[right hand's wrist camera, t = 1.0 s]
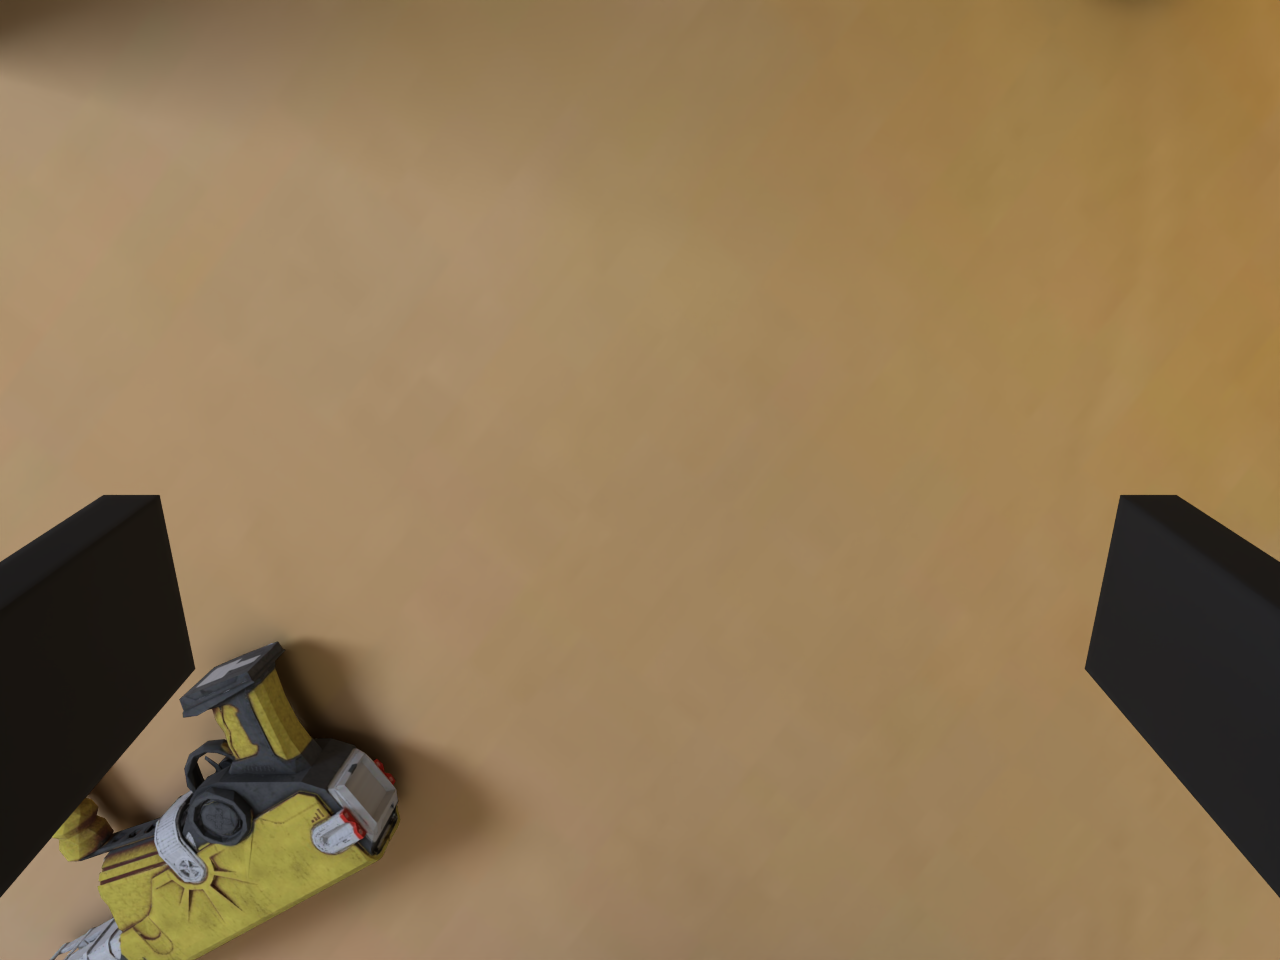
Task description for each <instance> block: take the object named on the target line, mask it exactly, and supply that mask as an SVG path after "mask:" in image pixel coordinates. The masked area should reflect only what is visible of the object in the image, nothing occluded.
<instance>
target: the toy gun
mask: <svg viewBox="0 0 1280 960" xmlns="http://www.w3.org/2000/svg"><path fill="white" fill-rule="evenodd" d="M284 651H285V649H283V648H282V647H281V645H280V644H279V642H275V643H272V644H270V645H267V646H264V647H262V648H259V649H257V650H254V651H252V652H249V653H247V654H244V655H242V656H239V657H237V658H235V659H232V660H230V661H228V662H225V663H223V664H221V665H219V666H216V667H214V668H213V669H212V670H211V671H210V672H209V673H208V674H206V675H205V676H204V677H203V678H202V679H201V680H200V681H199V682H198V683H197V684H196V685H194V686H193V687H192V688H191V689H190V690H189V691H188V692H187V693H186V694H185V695H184V696H182V697H181V698H180V699H179V700H180V702H181V705H182V707H183V710H184V711H183V718H184V717H191V716H198V715H199V714H201V713H203V712H205V711H206V710H209V709H212V710H213V713H214V716H215V719H216V721H217V723H218V724H219V726H220V727H221V728H222V730H223V731H224V733H225V736H226V739H227V740H225V739H222V740H212V741H207V742H206V743H205V744H203V745H202V746H201V747H199V748H198V749H196V750H195V751H194V752H192V753H191V754H190V755H189V757H188V760H187V763H186V765H185V768H184V769H185V775H186V781H187V787H188V788H189V789H190V790H191V791H189V792H188V793H186V794H184V795H182V796H180V797H179V798H178V799H177V800H176V801H175V803H174V804H173V805H172V806H171V807H170V808H169V809H168V810H167V811H166V813H165V814H164V815H163V816H162V817H161V818H158V819H155V820H152V821H149V822H146V823H143V824H140V825H137V826H134V827H131V828H128V829H125V830H122V831H119V832H116V833H113V829H112V828H111V826H110V825H109V824H108V822H107V821H106V819H105V818H102V817H100V816H97V811H98V806H97V805H96V804H95V802H94V801H93V800H92V799H88V798H85V799H84V800H83V801H82V802H81V803H80V805H79V806H78V807H77V808H76V809H75V811H74V812H73V813H72V814H71V815H70V816H69V818H68V819H67V820H66V821H65V822H64V823H63V825H62V826H61V827H60V828H59V829H58V830H57V832H56V833H55V834H54V835H53V836H52V837H53V838H56V839H59V850H60V852H61V853H62V854H63V855H64V857H65V858H66V859H67V860H68V861H82V860H85V859H88V858H91V857H94V856H97V855H100V854H103V853H106V852H109V851H110V852H109V853H108V855H107V856H106V857H105V858H104V863H103V865H102V872H101V873H100V875H99V881H100V886H98V890H99V893H100V896H101V898H102V899H103V900H104V902H105V903H106V904H107V905H108V906H109V908H110V911H111V913H112V915H113V918H112V919H110V920H109V921H107V922H105V923H103V924H102V925H100V926H98V927H94V928H91V929H90V930H89V931H88V932H87V933H86V934H84V935H83V936H81V937H79V938H77V939H76V940H74V941H72V942H69V943H66V944H64V945H63V946H62V947H61V948H60V949H59V950H58V951H57V952H56V953H55V954H54V956H53V957H52V958H51V959H50V960H54V959H55V958H56V957H57V956H58V955H60V954H62V953H65V952H67V951H70V950H72V949H73V950H72V951H71V952H70V953H69V954H68V955H67V957H66V958H65V959H64V960H195V959H197V958H199V957H201V956H203V955H204V954H206V953H208V952H210V951H212V950H214V949H215V948H217V947H219V946H221V945H223V944H225V943H227V942H228V941H230V940H232V939H234V938H236V937H238V936H239V935H241V934H243V933H245V932H247V931H249V930H251V929H252V928H254V927H256V926H258V925H260V924H262V923H263V922H265V921H267V920H269V919H271V918H273V917H275V916H276V915H278V914H280V913H282V912H284V911H286V910H287V909H289V908H291V907H293V906H295V905H297V904H298V903H300V902H302V901H304V900H306V899H308V898H310V897H311V896H313V895H315V894H317V893H319V892H321V891H322V890H324V889H326V888H328V887H330V886H332V885H334V884H335V883H337V882H339V881H341V880H343V879H345V878H346V877H348V876H350V875H352V874H354V873H356V872H358V871H359V870H361V869H363V868H365V867H367V866H369V865H370V864H372V863H374V862H376V861H378V860H379V859H380V858H382V856H383V854H384V852H385V850H386V848H387V845H388V843H389V841H390V840H391V838H392V836H393V834H394V833H395V831H396V829H397V827H398V825H399V822H400V816H399V812H398V808H397V803H398V797H397V791H396V788H395V787H394V786H393V785H394V783H395V779H394V778H393V776H392V775H391V774H390V773H385V771H384V767H383V764H382V763H381V762H380V761H379V760H378V759H375V760H372V759H371V758H370V757H369V756H368V755H366V754H365V753H364V752H362V751H361V750H359V749H357V748H356V747H355V745H351V744H348V743H345V742H342V741H338V740H335V739H332V738H325V739H313V738H312V737H310V735H309V734H308V733H307V731H306V730H305V729H304V727H303V726H302V725H301V723H300V722H299V721H298V719H297V717H296V715H295V713H294V712H293V710H292V708H291V706H290V704H289V702H288V700H287V698H286V696H285V693H284V691H283V688H282V685H281V683H280V680H279V677H278V675H277V672H276V669H275V660H276V659H277V658H278V657H279V656H280V655H281V654H282V653H283V652H284ZM207 752H209V753H219V754H221V755H224V756H226V757H225V758H224V759H223V760H222V761H221V762H220V763H219V765H218V764H217V763H215V762H214V761H212V760H211V759H209V758H208V757H206V756H205V759H206V760H207V761H208V762H209V763H210V764H211V765H212V766H214V767H215V769H216V772H215V773H214V774H213V775H211V776H209V777H207V778H206V780H205V781H204V779H203V776H202V774H201V771H200V768H199V766H198V763H197V761H198V759H199V758H200V757H201V756H203V755H204V754H206V753H207ZM76 948H79V950H78V951H76V952H75V953H73V952H74V951H75V950H76ZM72 953H73V954H72ZM71 954H72V955H71Z"/></svg>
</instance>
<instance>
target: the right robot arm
mask: <svg viewBox="0 0 1280 960" xmlns="http://www.w3.org/2000/svg"><path fill="white" fill-rule="evenodd" d="M194 670H195V665H194V660H193V656H192V651H191V646H190V641H189V636H188V631H187V626H186V621H185V617H184V612H183V607H182V602H181V597H180V592H179V587H178V582H177V578H176V573H175V568H174V563H173V558H172V553H171V548H170V543H169V539H168V534H167V529H166V524H165V519H164V514H163V509H162V504H161V500H160V495H103V496H101V497H100V498H98V499H97V500H95V501H94V502H92V503H90V504H89V505H87V506H86V507H84V508H83V509H81V510H80V511H78V512H77V513H75V514H74V515H72V516H70V517H69V518H67V519H66V520H64V521H63V522H61V523H60V524H58V525H57V526H55V527H54V528H52V529H50V530H49V531H47V532H46V533H44V534H43V535H41V536H40V537H38V538H37V539H35V540H33V541H32V542H30V543H29V544H27V545H26V546H24V547H23V548H21V549H20V550H18V551H17V552H15V553H13V554H12V555H10V556H9V557H7V558H6V559H4V560H3V561H1V562H0V897H1V896H2V895H3V894H4V893H5V891H6V890H7V889H8V888H9V887H10V886H11V884H12V883H13V882H14V881H15V880H16V879H17V877H18V876H19V875H20V874H21V873H22V872H23V870H24V869H25V868H26V867H27V866H28V865H29V863H30V862H31V861H32V860H33V859H34V857H35V856H36V855H37V854H38V853H39V852H40V850H41V849H42V848H43V847H44V846H45V845H46V843H47V842H48V841H49V840H50V839H51V838H52V836H53V835H54V834H55V833H56V832H57V830H58V829H59V828H60V827H61V826H62V825H63V823H64V822H65V821H66V820H67V819H68V818H69V816H70V815H71V814H72V813H73V812H74V811H75V809H76V808H77V807H78V806H79V805H80V803H81V802H82V801H83V800H84V799H85V798H86V796H87V795H88V794H89V793H90V792H91V791H92V789H93V788H94V787H95V786H96V785H97V784H98V782H99V781H100V780H101V779H102V778H103V776H104V775H105V774H106V773H107V772H108V771H109V769H110V768H111V767H112V766H113V765H114V764H115V762H116V761H117V760H118V759H119V758H120V757H121V755H122V754H123V753H124V752H125V751H126V749H127V748H128V747H129V746H130V745H131V744H132V742H133V741H134V740H135V739H136V738H137V737H138V735H139V734H140V733H141V732H142V731H143V730H144V728H145V727H146V726H147V725H148V724H149V723H150V721H151V720H152V719H153V718H154V717H155V715H156V714H157V713H158V712H159V711H160V710H161V708H162V707H163V706H164V705H165V704H166V703H167V701H168V700H169V699H170V698H171V697H172V696H173V694H174V693H175V692H176V691H177V690H178V688H179V687H180V686H181V685H182V684H183V683H184V681H185V680H186V679H187V678H188V677H189V676H190V674H191V673H192V672H193V671H194ZM1085 670H1086V671H1087V672H1088V673H1089V674H1090V676H1091V677H1092V678H1093V679H1094V680H1095V681H1096V683H1097V684H1098V685H1099V686H1100V687H1101V688H1102V690H1103V691H1104V692H1105V693H1106V694H1107V696H1108V697H1109V698H1110V699H1111V700H1112V701H1113V703H1114V704H1115V705H1116V706H1117V707H1118V708H1119V710H1120V711H1121V712H1122V713H1123V714H1124V715H1125V717H1126V718H1127V719H1128V720H1129V721H1130V723H1131V724H1132V725H1133V726H1134V727H1135V728H1136V730H1137V731H1138V732H1139V733H1140V734H1141V735H1142V737H1143V738H1144V739H1145V740H1146V741H1147V742H1148V744H1149V745H1150V746H1151V747H1152V748H1153V749H1154V751H1155V752H1156V753H1157V754H1158V755H1159V757H1160V758H1161V759H1162V760H1163V761H1164V762H1165V764H1166V765H1167V766H1168V767H1169V768H1170V769H1171V771H1172V772H1173V773H1174V774H1175V775H1176V776H1177V778H1178V779H1179V780H1180V781H1181V782H1182V784H1183V785H1184V786H1185V787H1186V788H1187V789H1188V791H1189V792H1190V793H1191V794H1192V795H1193V796H1194V798H1195V799H1196V800H1197V801H1198V802H1199V803H1200V805H1201V806H1202V807H1203V808H1204V809H1205V811H1206V812H1207V813H1208V814H1209V815H1210V816H1211V818H1212V819H1213V820H1214V821H1215V822H1216V823H1217V825H1218V826H1219V827H1220V828H1221V829H1222V830H1223V832H1224V833H1225V834H1226V835H1227V836H1228V838H1229V839H1230V840H1231V841H1232V842H1233V843H1234V845H1235V846H1236V847H1237V848H1238V849H1239V850H1240V852H1241V853H1242V854H1243V855H1244V856H1245V857H1246V859H1247V860H1248V861H1249V862H1250V863H1251V865H1252V866H1253V867H1254V868H1255V869H1256V870H1257V872H1258V873H1259V874H1260V875H1261V876H1262V877H1263V879H1264V880H1265V881H1266V882H1267V883H1268V884H1269V886H1270V887H1271V888H1272V889H1273V890H1274V891H1275V893H1276V894H1277V895H1278V896H1279V897H1280V562H1279V561H1277V560H1276V559H1274V558H1273V557H1271V556H1270V555H1268V554H1267V553H1265V552H1263V551H1262V550H1260V549H1259V548H1257V547H1256V546H1254V545H1253V544H1251V543H1250V542H1248V541H1247V540H1245V539H1243V538H1242V537H1240V536H1239V535H1237V534H1236V533H1234V532H1233V531H1231V530H1230V529H1228V528H1226V527H1225V526H1223V525H1222V524H1220V523H1219V522H1217V521H1216V520H1214V519H1213V518H1211V517H1210V516H1208V515H1206V514H1205V513H1203V512H1202V511H1200V510H1199V509H1197V508H1196V507H1194V506H1193V505H1191V504H1190V503H1188V502H1186V501H1185V500H1183V499H1182V498H1180V497H1179V496H1177V495H1120V500H1119V504H1118V509H1117V514H1116V519H1115V524H1114V529H1113V534H1112V539H1111V543H1110V548H1109V553H1108V558H1107V563H1106V568H1105V573H1104V578H1103V582H1102V587H1101V592H1100V597H1099V602H1098V607H1097V612H1096V617H1095V621H1094V626H1093V631H1092V636H1091V641H1090V646H1089V651H1088V656H1087V660H1086V665H1085Z"/></svg>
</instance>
